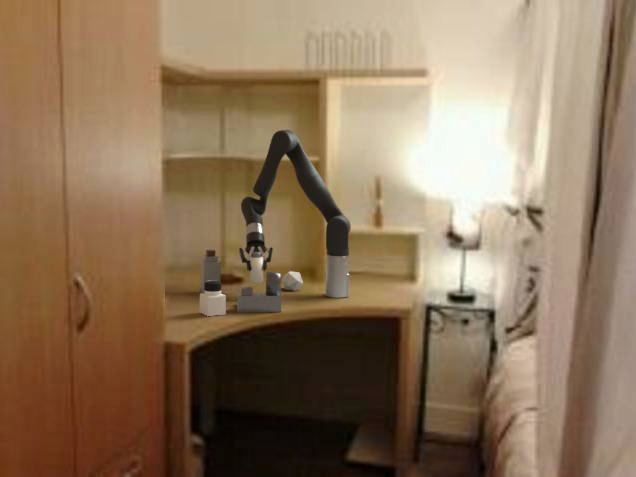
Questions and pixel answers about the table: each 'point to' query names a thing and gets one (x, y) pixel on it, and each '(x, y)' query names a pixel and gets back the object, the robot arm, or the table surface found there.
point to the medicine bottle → (212, 299)
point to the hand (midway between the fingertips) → (257, 269)
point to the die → (292, 281)
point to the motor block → (262, 296)
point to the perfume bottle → (210, 268)
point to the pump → (256, 268)
